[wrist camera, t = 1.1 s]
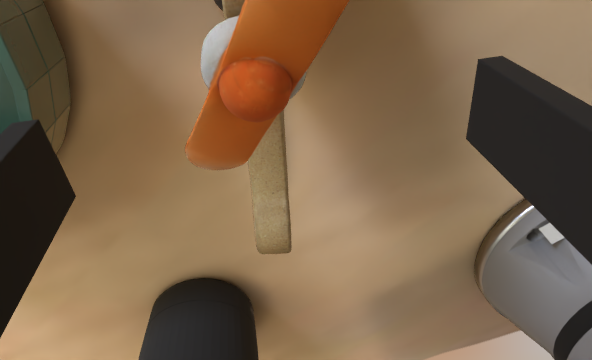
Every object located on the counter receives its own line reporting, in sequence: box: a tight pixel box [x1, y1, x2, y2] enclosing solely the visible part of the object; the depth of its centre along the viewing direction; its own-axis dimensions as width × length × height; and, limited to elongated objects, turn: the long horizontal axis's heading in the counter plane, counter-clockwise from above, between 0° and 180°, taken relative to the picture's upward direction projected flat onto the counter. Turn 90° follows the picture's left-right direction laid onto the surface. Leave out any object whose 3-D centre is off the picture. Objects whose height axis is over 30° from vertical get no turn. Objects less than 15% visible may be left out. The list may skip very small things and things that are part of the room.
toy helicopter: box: [185, 0, 349, 254], centre depth 19 cm, size 8×21×14 cm, turn 3°
